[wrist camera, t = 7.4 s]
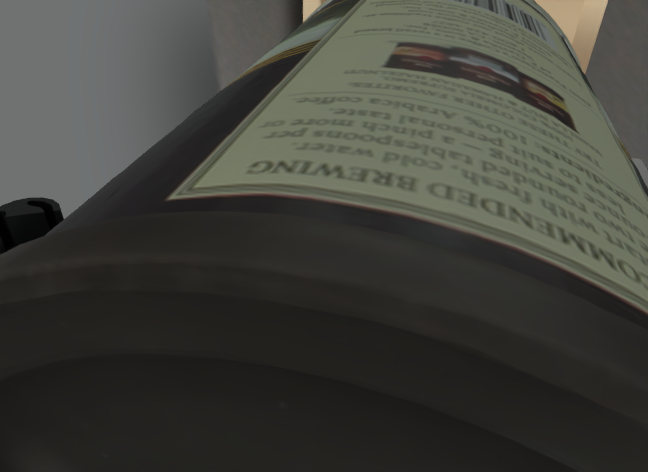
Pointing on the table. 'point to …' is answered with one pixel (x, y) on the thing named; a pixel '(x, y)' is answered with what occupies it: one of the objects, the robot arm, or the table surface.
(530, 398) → the coffee can
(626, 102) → the table surface
